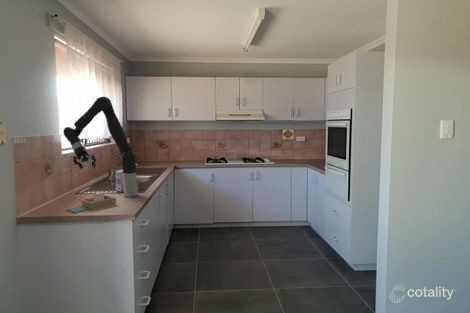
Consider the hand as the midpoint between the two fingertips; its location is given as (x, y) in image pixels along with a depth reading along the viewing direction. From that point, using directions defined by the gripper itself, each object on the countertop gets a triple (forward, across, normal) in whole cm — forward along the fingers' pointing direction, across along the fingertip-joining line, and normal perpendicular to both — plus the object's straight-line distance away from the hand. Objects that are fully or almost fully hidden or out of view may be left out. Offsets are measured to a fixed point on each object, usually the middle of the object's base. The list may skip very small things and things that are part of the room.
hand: (88, 167), depth 224 cm
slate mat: (+26, -14, +9) cm, 30 cm away
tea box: (+26, 0, +9) cm, 27 cm away
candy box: (+4, +37, +31) cm, 48 cm away
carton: (+26, 0, +9) cm, 27 cm away
